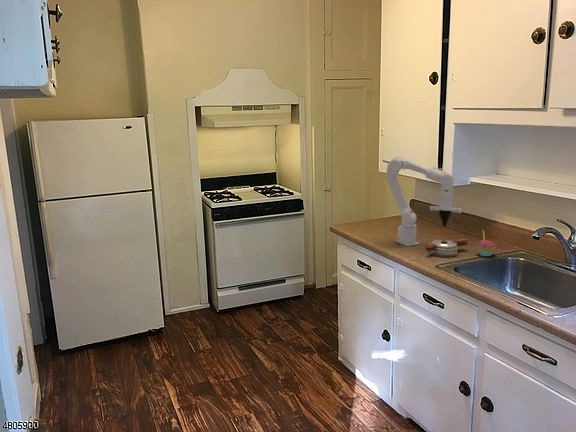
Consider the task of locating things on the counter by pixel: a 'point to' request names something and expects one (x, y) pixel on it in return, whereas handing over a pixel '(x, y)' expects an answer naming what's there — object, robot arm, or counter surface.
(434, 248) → the pot
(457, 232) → the counter surface
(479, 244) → the cupcake
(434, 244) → the lid
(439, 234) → the counter surface
